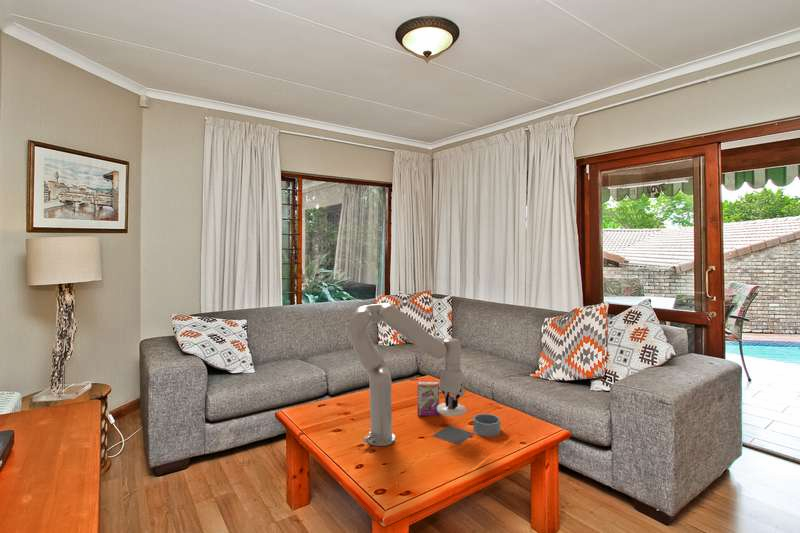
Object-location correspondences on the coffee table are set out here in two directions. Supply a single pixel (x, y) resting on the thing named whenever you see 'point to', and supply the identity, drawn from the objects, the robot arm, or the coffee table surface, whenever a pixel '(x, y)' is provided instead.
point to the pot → (486, 425)
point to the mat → (453, 435)
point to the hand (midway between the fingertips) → (451, 406)
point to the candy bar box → (428, 398)
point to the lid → (449, 410)
